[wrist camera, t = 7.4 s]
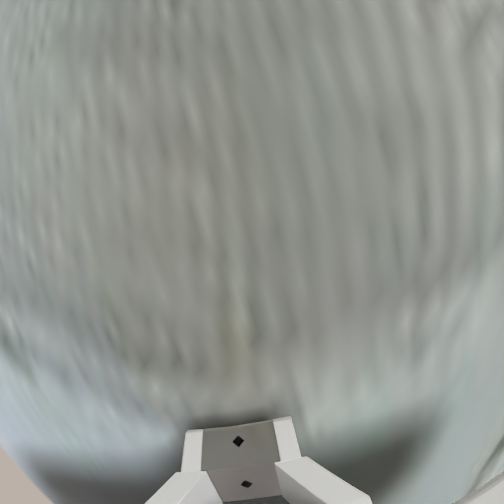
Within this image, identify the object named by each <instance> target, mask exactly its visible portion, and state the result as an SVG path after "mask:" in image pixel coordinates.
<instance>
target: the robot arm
mask: <svg viewBox="0 0 504 504" xmlns="http://www.w3.org/2000/svg"><path fill="white" fill-rule="evenodd" d="M273 425H274V426H273ZM278 495H282V497H283V498H285V499H286V500H287V501H288V502H289V503H290V504H372V501H371V499H370V496H368V495H367V494H365V493H363V492H362V491H360V490H358V489H357V488H355V487H353V486H352V485H350V484H348V483H347V482H345V481H344V480H342V479H340V478H339V477H337V476H336V475H334V474H333V473H331V472H330V471H328V470H327V469H325V468H324V467H322V466H321V465H319V464H318V463H316V462H315V461H313V460H312V459H310V458H309V457H307V456H305V457H301V453H300V449H299V445H298V442H297V438H296V434H295V430H294V426H293V422H292V419H291V417H290V416H287V417H282V418H277V419H273V421H272V420H266V421H261V422H255V423H249V424H242V425H238V426H228V427H218V428H206V429H196V430H187V432H186V434H185V441H184V449H183V457H182V466H181V472H176V473H175V474H174V475H173V476H172V477H171V478H170V479H169V480H168V481H167V482H166V483H165V484H164V485H163V486H162V487H161V488H160V489H159V490H158V491H157V492H156V493H155V494H154V495H153V496H152V497H151V498H150V499H149V500H148V501H147V502H146V503H145V504H223V502H230V501H239V500H247V499H254V498H263V497H271V496H278ZM453 504H504V471H503V472H502V473H501V474H499V475H498V476H496V477H495V478H493V479H492V480H491V481H489V482H488V483H486V484H484V485H483V486H481V487H480V488H478V489H477V490H475V491H473V492H472V493H470V494H468V495H467V496H465V497H463V498H462V499H460V500H458V501H456V502H455V503H453Z"/></svg>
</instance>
